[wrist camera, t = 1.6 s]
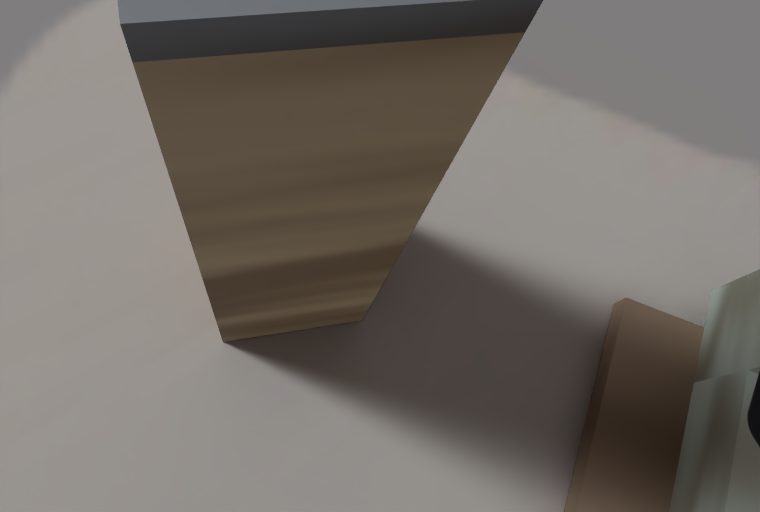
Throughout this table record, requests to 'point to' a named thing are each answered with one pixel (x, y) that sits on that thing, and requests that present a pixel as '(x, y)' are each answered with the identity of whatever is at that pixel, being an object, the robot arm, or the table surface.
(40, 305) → the table surface
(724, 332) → the socket
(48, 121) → the table surface
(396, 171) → the rail post
